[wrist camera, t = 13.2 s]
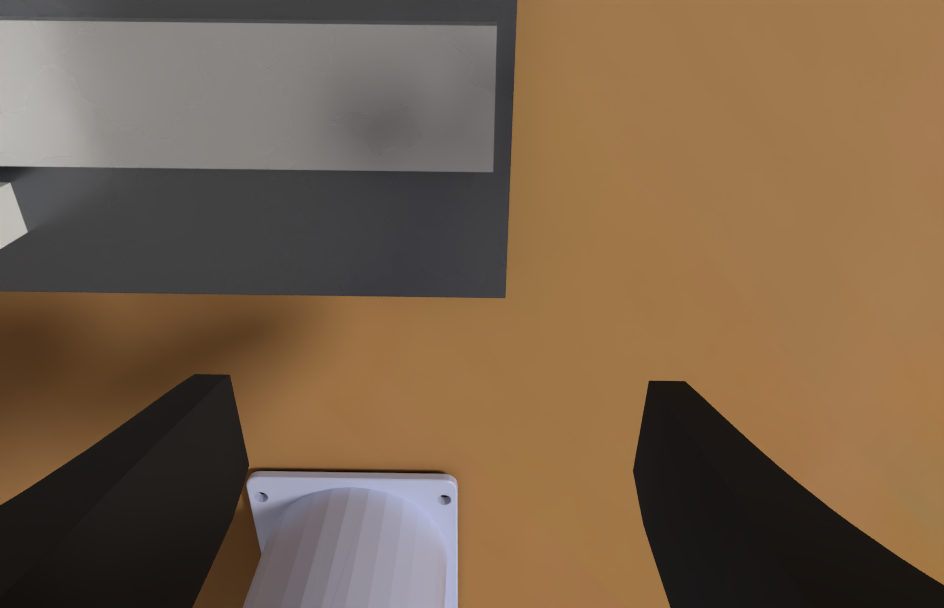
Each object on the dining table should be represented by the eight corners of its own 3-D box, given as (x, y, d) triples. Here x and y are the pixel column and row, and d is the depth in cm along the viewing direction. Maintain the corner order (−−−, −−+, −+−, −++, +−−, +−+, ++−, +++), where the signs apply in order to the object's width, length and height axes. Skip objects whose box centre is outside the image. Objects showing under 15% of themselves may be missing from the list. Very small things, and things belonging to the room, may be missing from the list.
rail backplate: (504, 283, 20) (514, 419, 14) (-178, 274, 20) (-451, 405, 14) (521, -185, 14) (551, -284, 8) (-433, -194, 15) (-1066, -298, 9)
